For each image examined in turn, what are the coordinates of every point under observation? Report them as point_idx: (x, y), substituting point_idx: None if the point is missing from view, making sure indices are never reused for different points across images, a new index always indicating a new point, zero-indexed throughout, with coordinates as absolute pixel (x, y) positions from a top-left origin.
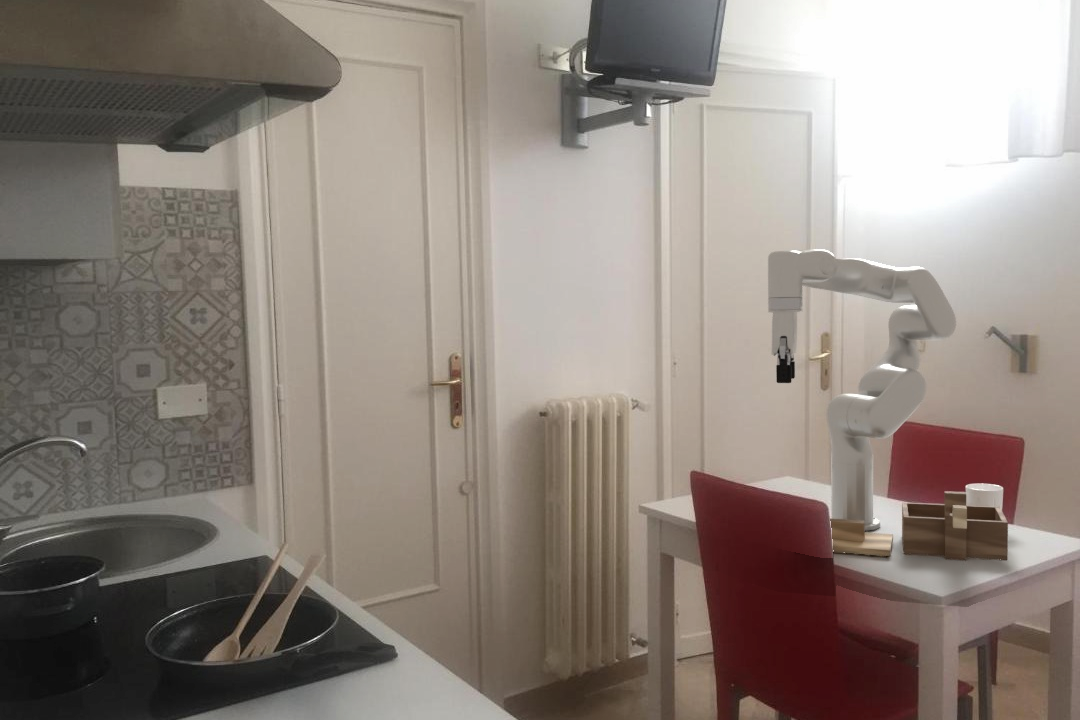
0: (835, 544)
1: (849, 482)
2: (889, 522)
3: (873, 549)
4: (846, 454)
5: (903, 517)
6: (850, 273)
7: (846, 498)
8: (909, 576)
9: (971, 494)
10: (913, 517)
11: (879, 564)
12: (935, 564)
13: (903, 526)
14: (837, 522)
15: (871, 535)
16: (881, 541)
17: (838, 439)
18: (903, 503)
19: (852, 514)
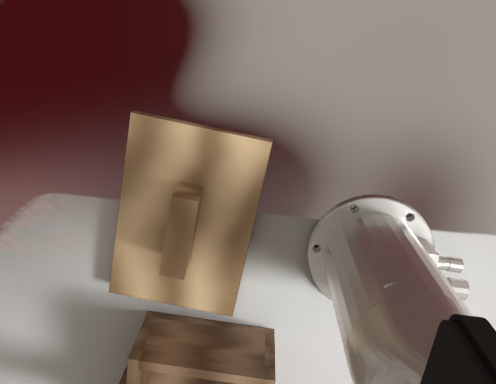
0: (132, 196)
1: (339, 301)
2: None
3: (112, 264)
4: (359, 348)
5: (150, 358)
6: None
7: (336, 270)
8: (7, 295)
9: None
10: (127, 376)
11: (69, 259)
12: (91, 347)
13: (155, 345)
14: (168, 220)
15: (218, 276)
16: (172, 287)
17: (395, 361)
18: (261, 381)
19: (327, 263)
